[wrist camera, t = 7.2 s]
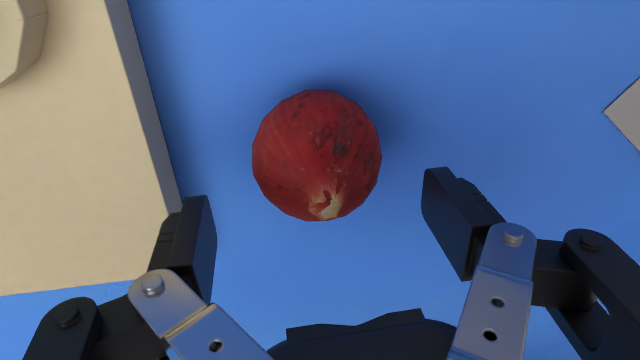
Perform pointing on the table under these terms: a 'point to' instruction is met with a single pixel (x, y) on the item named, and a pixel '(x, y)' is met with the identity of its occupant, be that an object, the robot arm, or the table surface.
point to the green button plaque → (77, 147)
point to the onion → (316, 155)
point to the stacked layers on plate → (627, 113)
